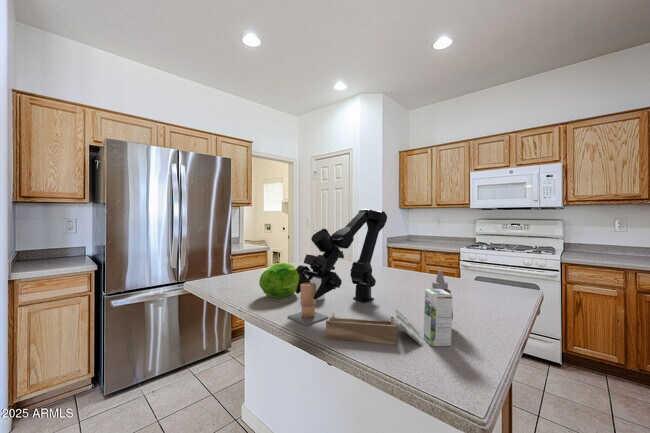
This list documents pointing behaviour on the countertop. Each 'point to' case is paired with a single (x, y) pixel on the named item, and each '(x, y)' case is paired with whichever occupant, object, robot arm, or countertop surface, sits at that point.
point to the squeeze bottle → (441, 284)
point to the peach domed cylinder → (308, 300)
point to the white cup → (317, 286)
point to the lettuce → (279, 280)
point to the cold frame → (369, 329)
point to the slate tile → (307, 322)
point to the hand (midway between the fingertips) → (305, 295)
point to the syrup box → (438, 317)
